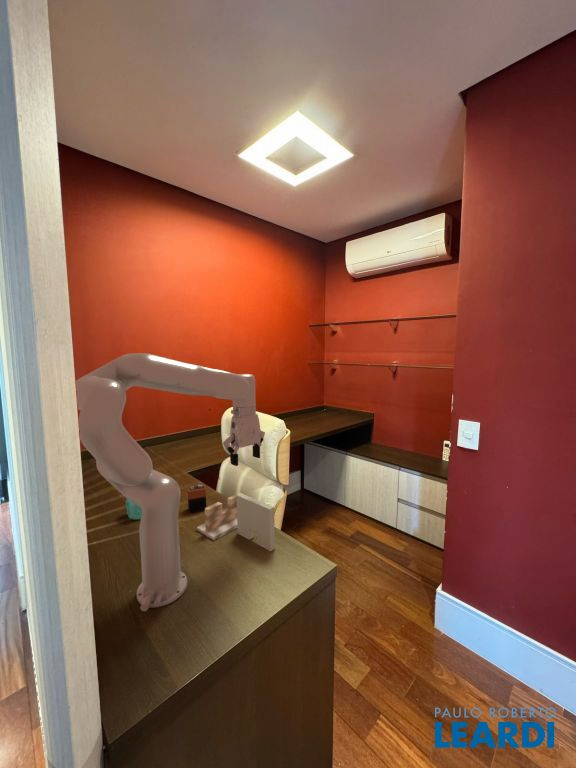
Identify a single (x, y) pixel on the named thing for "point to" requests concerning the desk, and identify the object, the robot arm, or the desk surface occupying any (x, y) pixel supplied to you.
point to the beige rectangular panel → (256, 521)
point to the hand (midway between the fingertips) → (245, 461)
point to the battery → (196, 498)
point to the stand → (220, 519)
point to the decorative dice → (133, 510)
